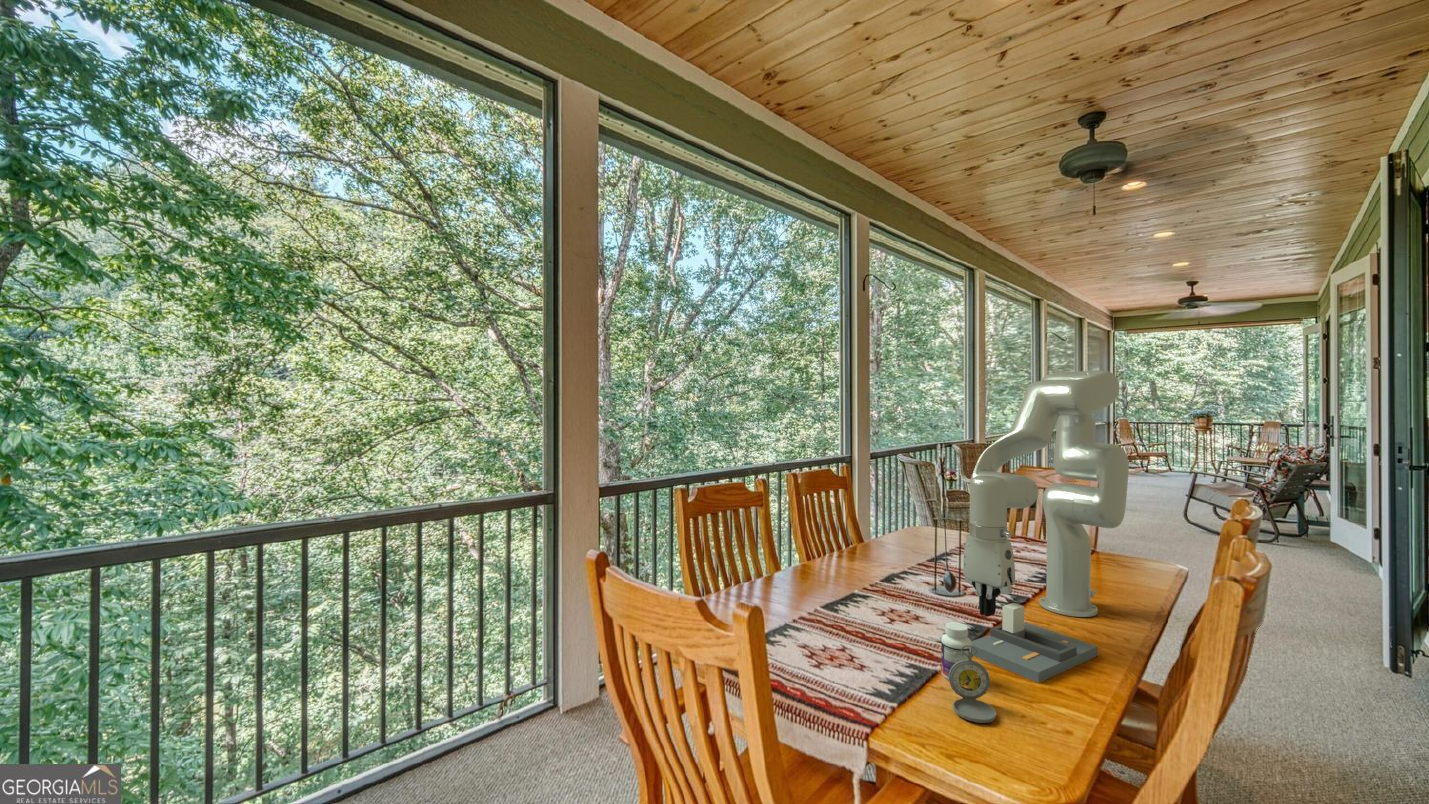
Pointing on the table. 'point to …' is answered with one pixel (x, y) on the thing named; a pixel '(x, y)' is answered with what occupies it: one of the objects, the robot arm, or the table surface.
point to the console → (1033, 651)
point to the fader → (1013, 619)
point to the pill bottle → (954, 646)
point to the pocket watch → (971, 689)
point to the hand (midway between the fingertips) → (987, 614)
